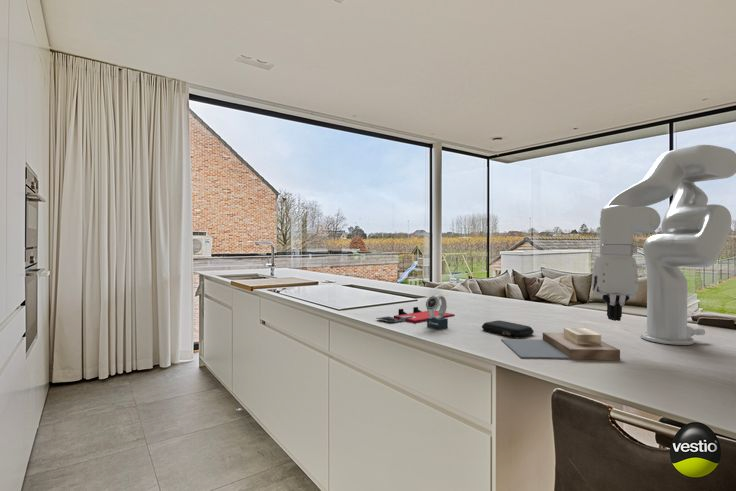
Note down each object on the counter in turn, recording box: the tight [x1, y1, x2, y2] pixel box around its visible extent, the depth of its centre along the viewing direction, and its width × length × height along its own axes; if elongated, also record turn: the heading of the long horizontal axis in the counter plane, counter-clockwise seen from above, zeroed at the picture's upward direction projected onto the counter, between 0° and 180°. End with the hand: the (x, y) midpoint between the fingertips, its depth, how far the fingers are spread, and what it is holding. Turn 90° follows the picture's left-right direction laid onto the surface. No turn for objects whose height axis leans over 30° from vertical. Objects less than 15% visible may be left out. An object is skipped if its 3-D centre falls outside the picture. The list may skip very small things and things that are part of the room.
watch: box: [425, 294, 449, 330], centre depth 134 cm, size 6×8×11 cm
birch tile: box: [563, 327, 602, 345], centre depth 106 cm, size 6×8×2 cm
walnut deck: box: [542, 332, 621, 361], centre depth 106 cm, size 12×18×2 cm, turn 176°
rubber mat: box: [500, 338, 571, 360], centre depth 107 cm, size 12×18×1 cm, turn 176°
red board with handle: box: [375, 306, 456, 324], centre depth 151 cm, size 30×3×15 cm
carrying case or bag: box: [481, 320, 535, 339], centre depth 126 cm, size 11×3×15 cm
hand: (614, 319), depth 105 cm, fingers closed
